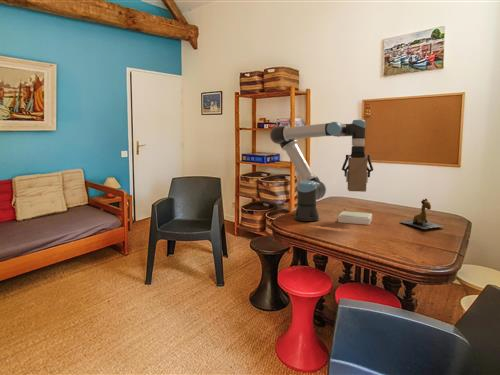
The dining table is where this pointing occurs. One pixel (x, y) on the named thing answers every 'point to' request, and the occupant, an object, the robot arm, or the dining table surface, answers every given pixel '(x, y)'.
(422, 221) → the stuffed giraffe
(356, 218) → the picture frame
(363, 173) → the wooden block
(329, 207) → the dining table surface
